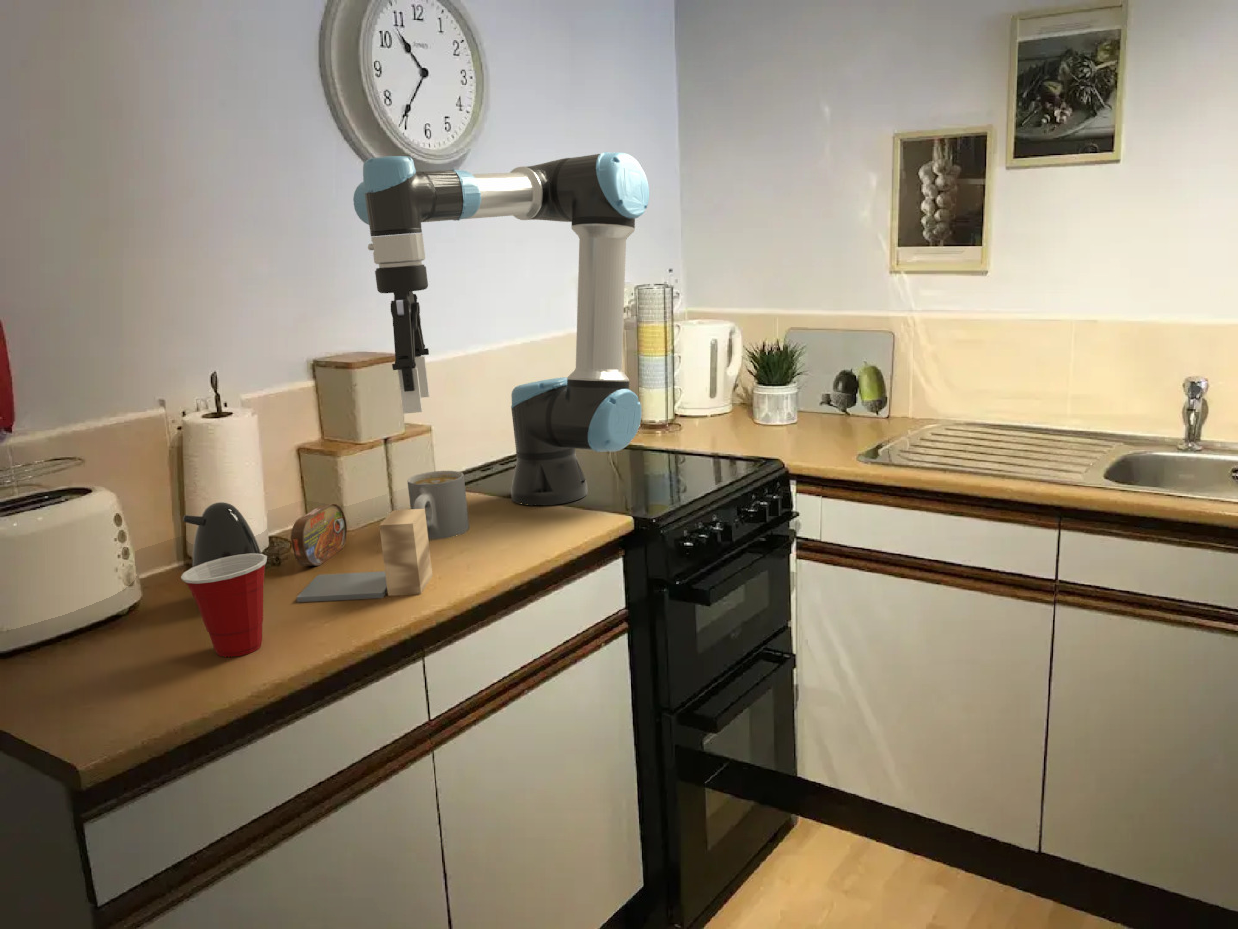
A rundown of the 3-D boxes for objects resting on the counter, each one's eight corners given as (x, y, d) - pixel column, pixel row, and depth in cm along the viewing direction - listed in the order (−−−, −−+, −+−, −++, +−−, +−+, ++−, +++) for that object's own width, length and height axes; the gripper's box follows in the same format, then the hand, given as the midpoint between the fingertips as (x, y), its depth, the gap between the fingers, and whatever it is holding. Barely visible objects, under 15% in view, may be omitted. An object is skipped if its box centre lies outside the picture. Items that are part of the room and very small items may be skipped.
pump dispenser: (187, 600, 158) (170, 505, 155) (253, 582, 164) (239, 490, 161) (210, 616, 150) (193, 516, 147) (278, 597, 157) (264, 500, 153)
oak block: (432, 576, 162) (424, 508, 159) (421, 594, 154) (412, 523, 151) (401, 577, 162) (392, 510, 159) (388, 595, 154) (379, 525, 152)
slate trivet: (399, 575, 163) (398, 570, 163) (382, 598, 153) (382, 592, 153) (318, 579, 164) (318, 574, 163) (297, 602, 154) (296, 597, 154)
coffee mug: (435, 521, 192) (429, 469, 190) (479, 524, 188) (474, 471, 186) (390, 543, 181) (383, 487, 178) (436, 547, 176) (430, 490, 174)
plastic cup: (230, 630, 144) (217, 549, 142) (296, 635, 141) (284, 551, 138) (176, 662, 134) (160, 575, 132) (245, 668, 131) (231, 579, 128)
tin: (309, 572, 168) (302, 523, 166) (292, 572, 168) (284, 523, 166) (351, 544, 182) (344, 498, 180) (334, 544, 182) (328, 498, 181)
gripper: (384, 263, 165) (400, 393, 170) (362, 270, 141) (382, 421, 146) (431, 259, 166) (446, 389, 171) (417, 266, 142) (435, 417, 147)
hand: (417, 404), depth 159 cm, fingers open, 13 cm apart
